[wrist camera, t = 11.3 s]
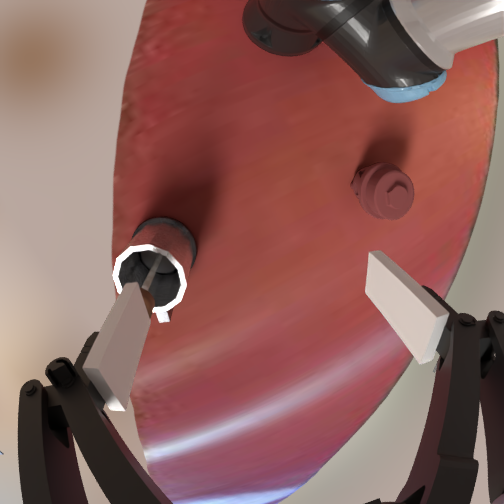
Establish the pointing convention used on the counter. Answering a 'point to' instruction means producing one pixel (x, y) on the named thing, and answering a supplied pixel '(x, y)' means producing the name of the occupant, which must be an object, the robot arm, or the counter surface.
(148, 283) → the plunger
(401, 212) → the mechanical component
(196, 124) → the counter surface
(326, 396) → the counter surface
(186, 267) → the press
